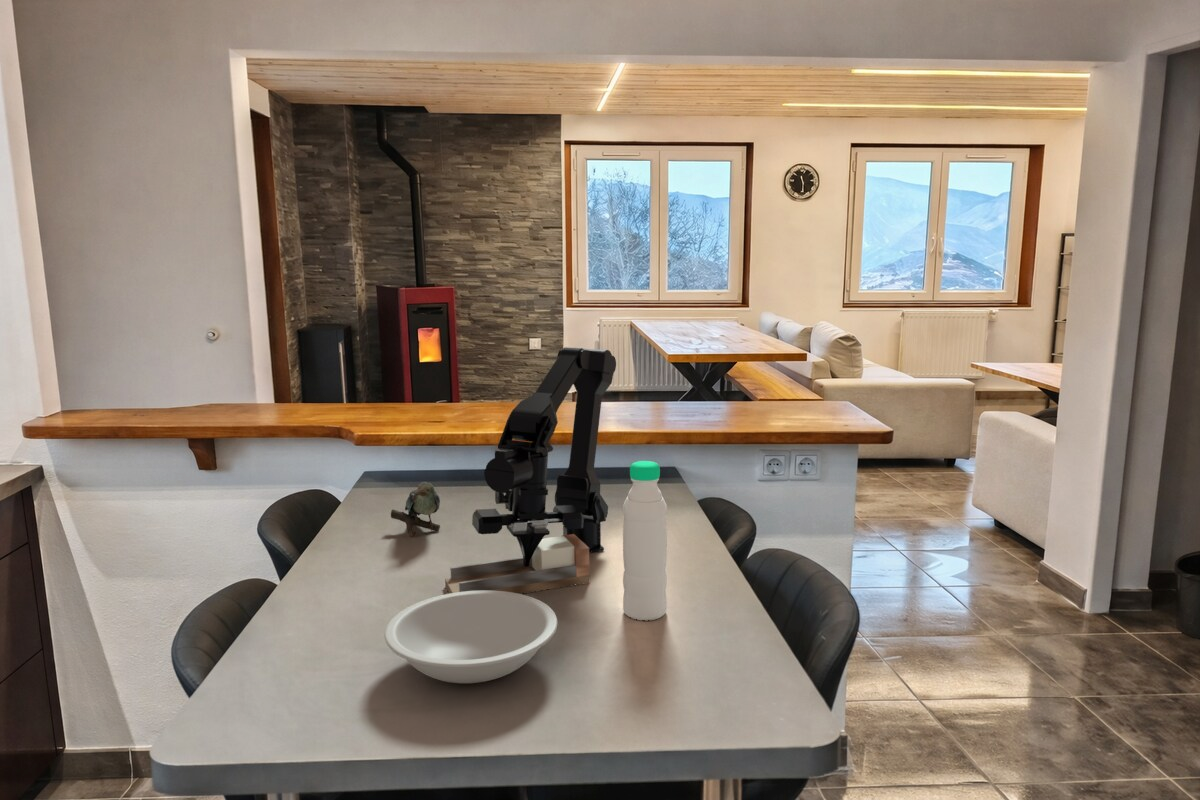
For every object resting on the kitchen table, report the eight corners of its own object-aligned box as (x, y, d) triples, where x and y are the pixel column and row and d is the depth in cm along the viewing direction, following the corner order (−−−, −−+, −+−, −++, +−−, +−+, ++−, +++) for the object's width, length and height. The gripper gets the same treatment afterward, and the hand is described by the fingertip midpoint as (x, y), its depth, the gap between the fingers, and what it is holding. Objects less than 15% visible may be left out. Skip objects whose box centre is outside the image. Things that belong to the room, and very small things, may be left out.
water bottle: (671, 607, 141) (672, 459, 136) (660, 624, 134) (660, 470, 130) (630, 601, 143) (629, 456, 138) (617, 618, 136) (616, 467, 132)
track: (574, 567, 158) (574, 533, 157) (589, 583, 151) (589, 548, 150) (445, 586, 150) (443, 551, 149) (454, 604, 143) (453, 567, 141)
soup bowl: (576, 637, 130) (576, 596, 129) (528, 722, 107) (527, 673, 106) (430, 623, 136) (428, 584, 134) (354, 701, 113) (351, 654, 112)
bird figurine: (388, 515, 187) (388, 450, 175) (433, 511, 190) (437, 447, 178) (393, 563, 178) (394, 498, 165) (440, 558, 181) (445, 494, 168)
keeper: (563, 561, 156) (563, 535, 155) (574, 573, 151) (574, 546, 150) (532, 566, 154) (531, 540, 153) (542, 578, 149) (541, 550, 148)
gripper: (566, 467, 159) (562, 547, 161) (467, 470, 152) (464, 554, 154) (586, 482, 148) (581, 568, 151) (481, 486, 142) (477, 576, 144)
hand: (526, 566), depth 150 cm, fingers closed
